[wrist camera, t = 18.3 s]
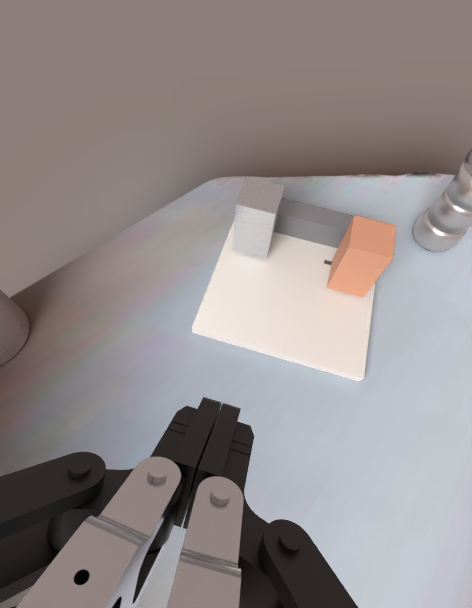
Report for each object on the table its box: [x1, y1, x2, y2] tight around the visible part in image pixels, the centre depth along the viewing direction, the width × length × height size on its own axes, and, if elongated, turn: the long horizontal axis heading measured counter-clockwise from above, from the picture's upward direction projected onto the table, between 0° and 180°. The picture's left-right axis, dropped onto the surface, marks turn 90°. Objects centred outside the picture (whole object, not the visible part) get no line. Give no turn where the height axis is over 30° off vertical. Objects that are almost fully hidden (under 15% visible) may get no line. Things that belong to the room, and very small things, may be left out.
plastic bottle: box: [413, 149, 472, 252], centre depth 45 cm, size 6×7×20 cm
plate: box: [192, 198, 375, 382], centre depth 47 cm, size 22×22×6 cm
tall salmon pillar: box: [327, 215, 396, 297], centre depth 44 cm, size 5×5×9 cm
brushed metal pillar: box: [233, 176, 285, 259], centre depth 46 cm, size 5×5×9 cm
